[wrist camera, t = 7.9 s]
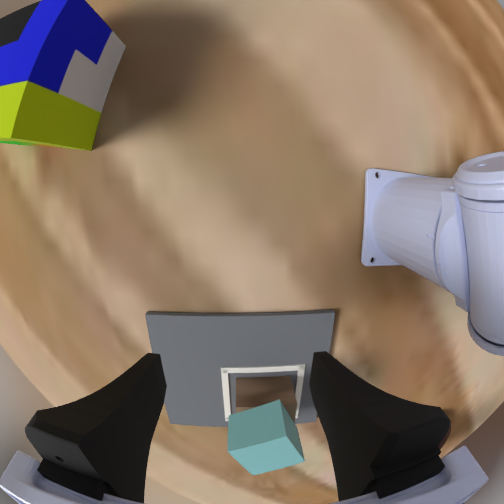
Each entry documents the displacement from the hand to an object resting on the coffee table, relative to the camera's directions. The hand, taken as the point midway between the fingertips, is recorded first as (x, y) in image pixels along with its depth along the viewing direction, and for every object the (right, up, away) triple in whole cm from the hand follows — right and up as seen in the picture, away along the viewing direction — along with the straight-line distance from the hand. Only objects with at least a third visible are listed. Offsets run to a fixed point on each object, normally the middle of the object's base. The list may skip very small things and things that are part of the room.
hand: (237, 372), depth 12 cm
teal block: (+2, -9, +8) cm, 12 cm away
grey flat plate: (0, -6, +12) cm, 14 cm away
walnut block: (+2, -8, +12) cm, 15 cm away
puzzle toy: (-16, +20, +6) cm, 26 cm away
